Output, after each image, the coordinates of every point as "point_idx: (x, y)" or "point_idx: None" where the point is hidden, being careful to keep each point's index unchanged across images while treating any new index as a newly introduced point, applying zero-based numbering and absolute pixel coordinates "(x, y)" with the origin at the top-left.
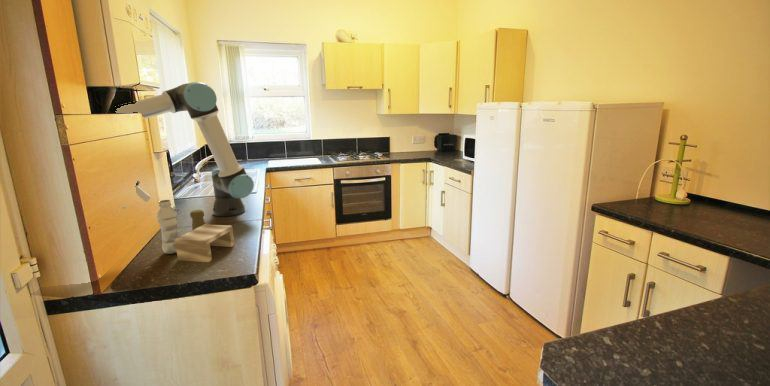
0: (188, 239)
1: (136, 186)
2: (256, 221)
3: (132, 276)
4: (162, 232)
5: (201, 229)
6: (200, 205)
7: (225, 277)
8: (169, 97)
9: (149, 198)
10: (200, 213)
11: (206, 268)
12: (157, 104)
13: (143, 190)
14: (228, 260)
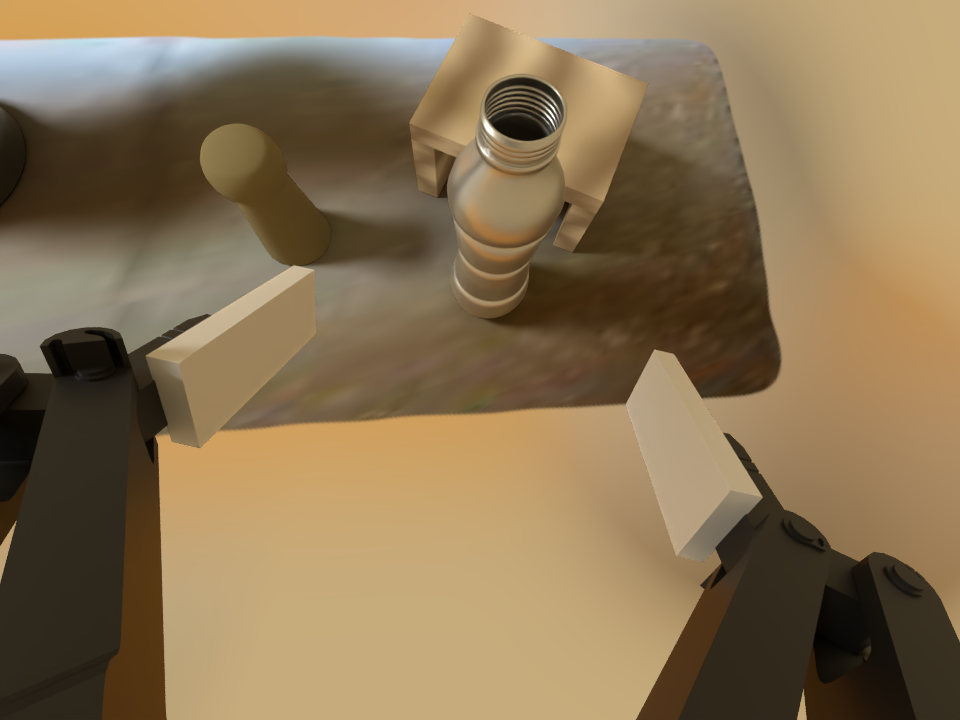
0: (619, 146)
1: (190, 361)
2: (186, 41)
3: (685, 361)
4: (527, 265)
5: None
6: None
7: (726, 95)
8: None
9: (307, 288)
10: (268, 135)
11: (657, 152)
12: None
13: (234, 305)
14: None
